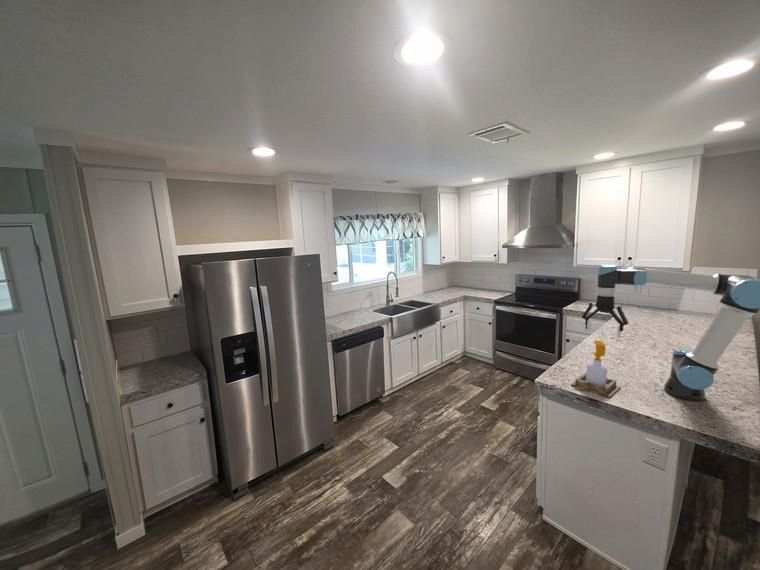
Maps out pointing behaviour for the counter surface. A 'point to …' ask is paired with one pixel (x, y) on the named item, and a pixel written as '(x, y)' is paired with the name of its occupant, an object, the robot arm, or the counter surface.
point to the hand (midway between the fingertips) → (603, 334)
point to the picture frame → (606, 392)
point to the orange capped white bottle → (597, 367)
